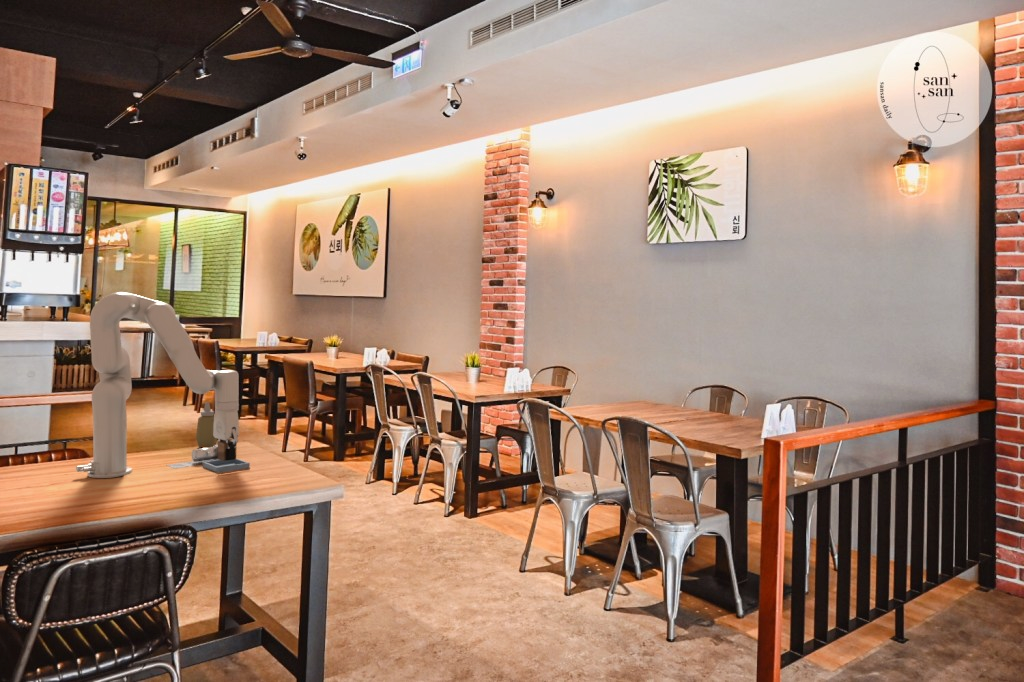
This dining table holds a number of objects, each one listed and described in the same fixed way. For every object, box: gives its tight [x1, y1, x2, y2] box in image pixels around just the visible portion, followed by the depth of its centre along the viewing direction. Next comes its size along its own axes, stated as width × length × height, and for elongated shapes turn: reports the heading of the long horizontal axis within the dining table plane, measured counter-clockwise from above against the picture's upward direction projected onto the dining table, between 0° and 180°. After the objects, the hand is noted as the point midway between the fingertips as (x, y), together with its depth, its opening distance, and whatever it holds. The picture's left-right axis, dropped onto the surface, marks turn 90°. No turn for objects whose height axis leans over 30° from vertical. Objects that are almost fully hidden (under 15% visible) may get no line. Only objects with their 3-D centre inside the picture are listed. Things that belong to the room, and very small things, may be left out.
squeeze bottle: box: [195, 401, 218, 448], centre depth 273 cm, size 8×8×18 cm
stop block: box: [217, 441, 237, 461], centre depth 239 cm, size 4×4×6 cm
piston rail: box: [166, 459, 218, 470], centre depth 245 cm, size 18×7×1 cm, turn 138°
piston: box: [191, 444, 219, 462], centre depth 247 cm, size 9×5×5 cm, turn 138°
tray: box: [202, 457, 251, 475], centre depth 239 cm, size 11×11×2 cm
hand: (226, 458), depth 239 cm, fingers closed on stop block, 4 cm apart
